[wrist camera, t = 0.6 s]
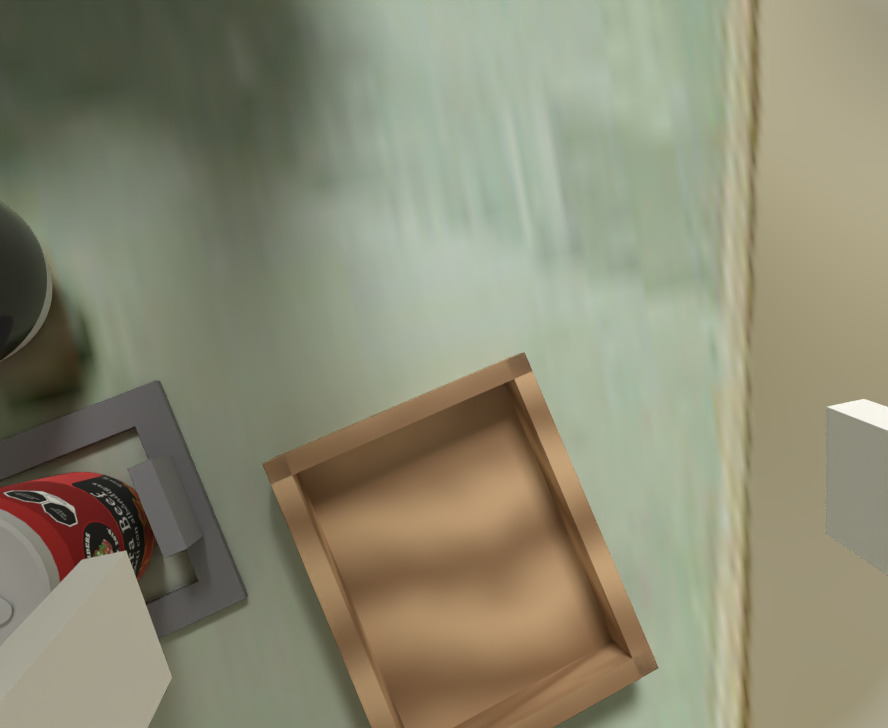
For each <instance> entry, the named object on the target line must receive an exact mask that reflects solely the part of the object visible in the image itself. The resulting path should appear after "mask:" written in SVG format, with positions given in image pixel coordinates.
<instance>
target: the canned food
mask: <svg viewBox="0 0 888 728" xmlns="http://www.w3.org/2000/svg"><path fill="white" fill-rule="evenodd" d="M154 544H155V535H154V533H153V530H152V528H151V525H150V523H149V521H148V518H147V516H146V513H145V511H144V508H143V506H142V503H141V501H140V499H139V496H138V494H137V492H136V491H135V490H134V489H133V488H131V487H129V486H128V485H126V484H125V483H123V482H121V481H119V480H116V479H114V478H111V477H109V476H106V475H102V474H97V473H91V472H72V473H66V474H61V475H55V476H51V477H46V478H41V479H36V480H32V481H27V482H22V483H17V484H13V485H8V486H3V487H0V646H1V645H2V644H3V643H4V641H5V640H6V639H7V638H8V637H9V636H10V635H11V634H12V633H13V632H14V631H15V630H16V629H17V628H18V627H19V626H20V625H21V624H22V622H23V621H24V620H25V619H26V618H27V617H28V616H29V615H30V614H31V613H32V612H33V611H34V610H35V609H36V608H37V607H38V606H39V605H40V603H41V602H42V601H43V600H44V599H45V598H46V597H47V596H48V595H49V594H50V593H51V592H52V591H53V590H54V589H55V588H56V587H57V585H58V584H59V583H60V582H61V581H62V580H63V579H64V578H65V577H66V576H67V575H68V574H69V573H70V572H71V571H72V570H73V569H74V568H75V566H76V565H77V564H78V563H79V562H80V561H81V560H83V559H88V558H92V557H97V556H102V555H107V554H112V553H117V552H122V551H127V554H128V557H129V559H130V562H131V565H132V568H133V571H134V573H135V576H136V579H137V582H138V580H139V579H140V578H141V576H142V575H143V574H144V572H145V570H146V568H147V566H148V564H149V562H150V559H151V556H152V552H153V548H154Z"/></svg>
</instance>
